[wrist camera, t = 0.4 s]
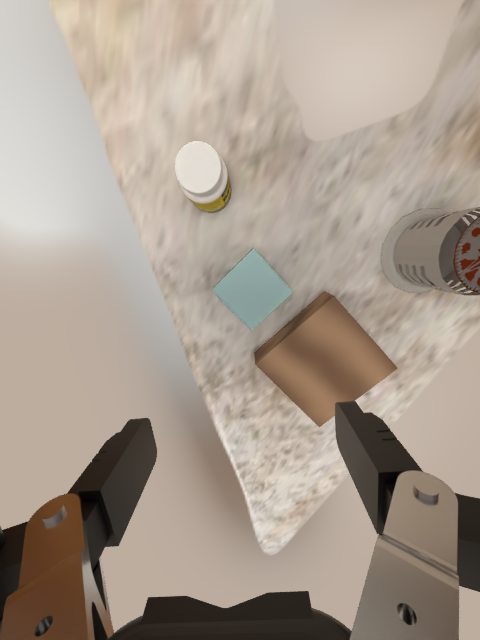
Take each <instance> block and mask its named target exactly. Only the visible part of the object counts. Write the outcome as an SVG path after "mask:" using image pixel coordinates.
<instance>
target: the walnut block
mask: <svg viewBox="0 0 480 640" xmlns="http://www.w3.org/2000/svg"><path fill="white" fill-rule="evenodd" d="M255 364H256V365H257V366H258V367H259V368H260V369H261V370H262V371H263V372H264V373H265V374H266V375H267V376H268V377H269V378H270V379H271V380H272V381H273V382H274V383H275V384H276V385H277V386H278V387H279V388H280V389H281V390H282V391H283V392H284V393H285V394H286V395H287V396H288V397H289V398H290V399H291V400H292V401H293V402H294V403H295V404H296V405H297V406H298V407H299V408H300V409H301V410H302V411H303V412H304V413H305V414H307V415H308V416H309V417H310V418H311V419H312V420H313V421H314V422H315V423H316V424H317V425H318V426H319V427H320V426H322V425H323V424H324V423H326V422H327V421H328V420H330V419H331V418H332V417H334V416H335V403H336V402H347V401H355V400H356V399H358V398H359V397H360V396H362V395H363V394H364V393H366V392H367V391H368V390H370V389H371V388H372V387H373V386H375V385H376V384H377V383H379V382H380V381H381V380H383V379H384V378H385V377H387V376H388V375H389V374H391V373H392V372H393V371H395V370H396V369H397V367H396V366H395V364H394V363H393V362H392V361H391V360H390V359H389V358H388V357H387V355H386V354H385V353H384V352H383V351H382V350H381V349H380V348H379V346H378V345H377V344H376V343H375V342H374V341H373V340H372V339H371V337H370V336H369V335H368V334H367V333H366V332H365V331H364V330H363V328H362V327H361V326H360V325H359V324H358V323H357V322H356V320H355V319H354V318H353V317H352V316H351V315H350V314H349V313H348V311H347V310H346V309H345V308H344V307H343V306H342V305H341V304H340V302H339V301H338V300H337V299H336V298H335V297H334V296H333V295H331V294H329V293H327V292H323V293H322V294H321V295H320V296H319V297H318V298H317V299H315V300H314V301H313V302H312V303H311V304H310V305H309V306H308V307H306V308H305V309H304V310H303V311H302V312H301V313H300V314H298V315H297V316H296V317H295V318H294V319H293V320H292V321H290V322H289V323H288V324H287V325H286V326H285V327H284V328H283V329H281V330H280V331H279V332H278V333H277V334H276V335H275V336H273V337H272V338H271V339H270V340H269V341H268V342H267V343H265V344H264V345H263V346H262V347H261V348H260V349H259V350H258V351H256V352H255Z"/></svg>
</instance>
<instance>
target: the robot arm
mask: <svg viewBox="0 0 480 640" xmlns="http://www.w3.org/2000/svg"><path fill="white" fill-rule="evenodd" d="M335 425H336V439H337V444H338V448H339V450H340V453H341V455H342V457H343V459H344V462H345V464H346V466H347V468H348V470H349V473H350V475H351V477H352V479H353V481H354V483H355V486H356V488H357V490H358V492H359V495H360V497H361V499H362V501H363V504H364V506H365V508H366V510H367V512H368V515H369V517H370V519H371V521H372V524H373V525H374V528H375V530H376V532H377V534H379V535H378V538H377V541H376V545H375V548H374V552H373V555H372V559H371V563H370V566H369V570H368V574H367V577H366V581H365V585H364V588H363V592H362V596H361V600H360V603H359V607H358V610H357V614H356V618H355V622H354V625H353V629H352V631H351V630H350V629H348V628H347V627H346V626H345V625H343V624H342V623H341V622H339V621H338V620H336V619H335V618H333V617H332V616H330V615H328V614H326V613H324V612H322V611H320V610H316V609H313V608H311V604H310V598H309V592H308V591H299V592H275V593H266V594H263V595H261V596H259V597H256V598H253V599H250V600H248V601H245V602H243V603H240V604H238V605H235V606H232V607H230V608H221V607H218V606H215V605H212V604H209V603H206V602H203V601H200V600H197V599H194V598H191V597H188V596H174V597H149V598H148V600H147V603H146V607H145V610H144V614H143V616H140V617H138V618H136V619H134V620H133V621H131V622H129V623H127V624H126V625H124V626H123V627H122V628H120V629H119V630H117V632H115V633H114V630H113V626H112V622H111V616H110V610H109V604H108V598H107V592H106V585H105V580H104V572H103V566H102V561H101V558H100V556H101V554H102V552H103V550H104V548H105V547H110V546H119V543H120V541H121V539H122V537H123V535H124V532H125V530H126V528H127V526H128V523H129V521H130V519H131V517H132V514H133V512H134V510H135V507H136V505H137V503H138V501H139V499H140V496H141V494H142V492H143V489H144V487H145V485H146V483H147V480H148V478H149V476H150V474H151V471H152V469H153V467H154V465H155V462H156V457H157V448H156V443H155V439H154V435H153V431H152V426H151V422H150V420H149V419H148V418H141V419H131V420H129V421H128V422H127V423H126V425H125V426H124V428H123V429H122V431H121V432H119V433H116V434H115V435H114V436H112V437H111V438H110V439H109V440H107V441H106V442H105V444H104V445H103V446H102V448H101V449H100V451H99V453H98V454H96V456H95V457H94V458H93V460H92V462H90V464H89V465H88V466H87V468H86V469H85V471H84V472H83V473H82V474H81V476H80V477H79V478H78V480H77V481H76V482H75V484H74V485H73V486H72V488H71V489H70V490H69V492H68V493H67V494H64V495H61V496H58V497H56V498H54V499H52V500H50V501H49V502H47V503H46V504H44V505H43V506H42V507H40V508H39V509H38V510H37V511H36V512H35V513H34V515H33V516H32V517H31V518H30V520H29V521H28V522H25V523H22V524H19V525H16V526H13V527H10V528H7V529H4V530H2V529H1V527H0V640H459V586H462V587H465V588H469V589H472V590H475V591H478V592H480V499H479V498H474V497H469V496H464V495H460V494H457V493H454V492H453V491H452V489H451V488H450V487H449V486H448V485H447V484H446V483H444V482H443V481H442V480H440V479H438V478H437V477H435V476H433V475H431V474H428V473H425V472H423V471H422V470H421V468H420V467H419V466H418V465H417V463H416V462H415V461H414V459H413V458H412V457H411V456H410V454H409V453H408V452H407V451H406V449H405V448H404V447H403V446H402V444H401V443H400V442H399V441H398V440H397V438H396V437H395V435H394V434H393V433H392V432H391V431H390V429H389V428H388V426H387V425H386V424H385V423H384V421H383V420H382V419H380V418H379V417H377V416H376V415H374V414H373V413H371V412H370V413H363V411H362V410H361V409H360V407H359V406H358V404H357V403H356V402H355V401H347V402H336V403H335ZM382 533H383V534H382Z"/></svg>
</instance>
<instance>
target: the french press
mask: <svg viewBox="0 0 480 640" xmlns="http://www.w3.org/2000/svg"><path fill="white" fill-rule="evenodd" d="M478 208H480V207H477V208H472V209H467V210H463V211H458V212H452V213H447V212H445V211H442V210H440V209H437V208H436V209H419V210H417V211H415V212H413V213H410V214H408V215H406V216H404V217H403V218H402V219H401V220H400V221H399V222H397V223H396V224H395V225H394V226H393V227H392V228H391V229H390V231H389V233H388V235H387V237H386V239H385V241H384V243H383V245H382V255H381V264H382V267H383V270H384V274H385V277H386V278H387V279H388V280H389V281H390V282H391V283H392V284H393V285H394V286H395V287H396V288H399V289H401V290H404V291H406V292H409V293H412V292H426V291H429V290H431V289H436V290H440V291H446V292H452V293H455V294H461V295H480V214H479V213H476V212H472V211H473V210H476V211H479V212H480V209H478ZM466 213H468V214H472V215H476V216H477V217H478V218H477V219H476V220H474V219H473V218H472V217H471V216H469V215H466ZM462 216H463V217H466V218H467V220H468V221H469V222H470V223H471V224H470V225H469V226H468V225H467V224H466V223H465V222H464V220H463V219H462V218H461V217H462ZM450 280H454V281H453V282H452V283H451V284H450V285H448V284H447V283H448V282H449V281H450ZM459 281H461V282H462V284H460V285H459V286H457V287H454V288H452V289H451V288H450V287H452V286H454V285H456V284H457V283H458V282H459ZM464 286H465V287H466V288H467V289H464V290H461V291H458V292H457V291H455V290H457V289H460V288H462V287H464ZM438 287H439V288H438ZM443 289H444V290H443ZM470 290H471V291H474V292H471V293H464V292H467V291H470Z"/></svg>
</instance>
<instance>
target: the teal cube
mask: <svg viewBox="0 0 480 640" xmlns="http://www.w3.org/2000/svg"><path fill="white" fill-rule="evenodd" d="M212 291H213V292H214V293H215V294H216V295H217V296H218V297H219V298H220V299H221V300H222V301H223V302H224V304H225V305H226V306H227V307H228V308H229V309H230V310H231V311H232V312H233V313H234V314H235V315H236V316H237V317H238V318H239V319H240V320H241V321H242V322H243V323H244V324H245V325H246V326H247V327H248V328H249V329H250V330H252V329H254V328H255V327H256V326H257V325H258V324H259V323H260V322H261V321H262V320H263V319H265V318H266V317H267V316H268V315H269V314H270V313H271V312H272V311H273V310H275V309H276V308H277V307H278V306H279V305H280V304H281V303H282V302H283V301H284V300H286V299H287V298H288V297H289V296H290V295H291V294H292V293H293V291H292V290H291V288H290V287H289V286H288V285H287V284H286V283H285V282H284V281H283V280H282V279H281V278H280V276H279V275H278V274H277V273H276V272H275V271H274V270H273V269H272V268H271V267H270V266H269V264H268V263H267V262H266V261H265V260H264V259H263V258H262V257H261V256H260V255H259V254H258V252H257V251H256V250H255V249H252V250H251V251H250V252H249V253H248V254H247V255H246V256H245V257H244V258H243V259H242V260H241V261H240V262H239V263H238V264H237V265H236V266H235V267H234V268H233V269H232V270H231V271H230V272H229V273H228V274H227V275H226V276H225V277H224V278H223V279H222V280H221V281H219V282H218V283H217V285H216V286H215V287H214V288H213V289H212Z"/></svg>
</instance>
